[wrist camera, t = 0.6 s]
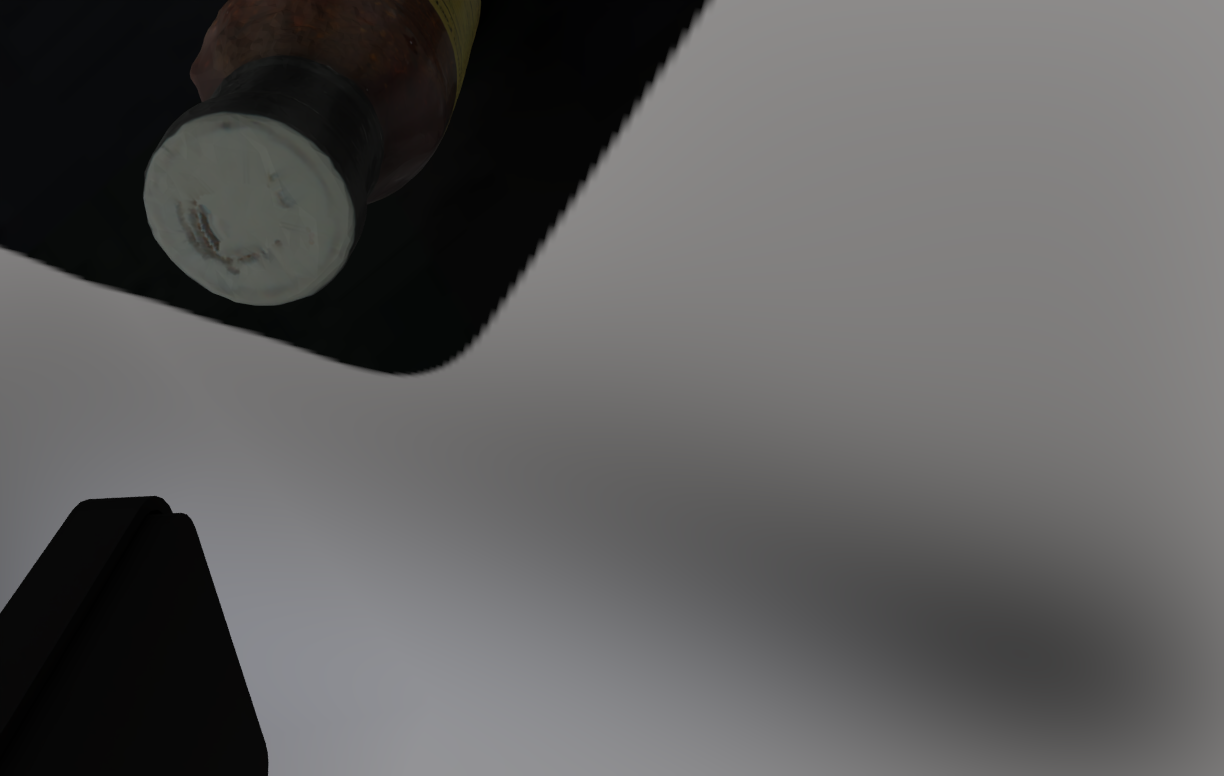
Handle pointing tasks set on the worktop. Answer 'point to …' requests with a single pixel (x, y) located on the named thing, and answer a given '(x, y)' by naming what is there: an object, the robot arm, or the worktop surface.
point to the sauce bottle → (301, 136)
